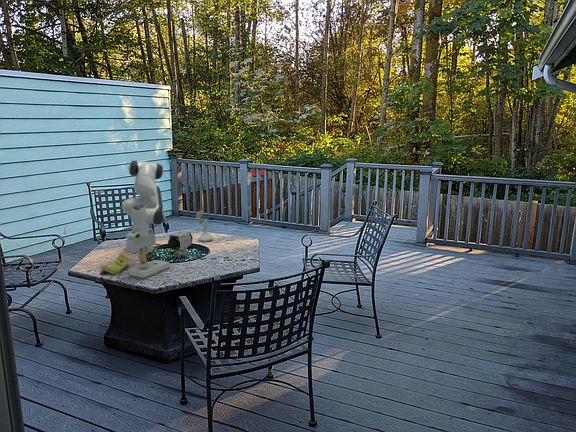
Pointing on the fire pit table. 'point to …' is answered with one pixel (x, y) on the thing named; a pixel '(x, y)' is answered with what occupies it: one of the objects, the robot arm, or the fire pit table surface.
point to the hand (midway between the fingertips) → (142, 254)
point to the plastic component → (116, 265)
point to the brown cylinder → (143, 256)
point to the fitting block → (149, 269)
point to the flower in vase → (205, 235)
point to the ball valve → (180, 242)
